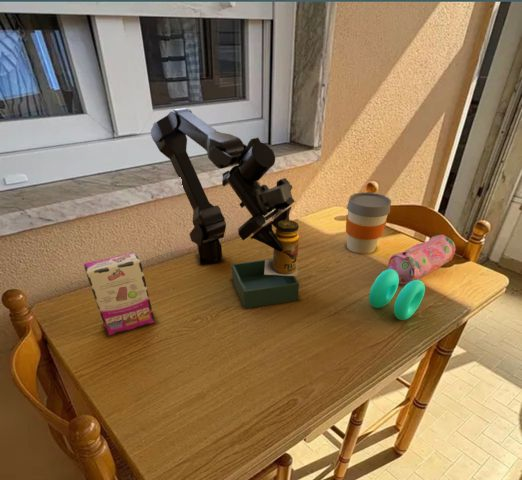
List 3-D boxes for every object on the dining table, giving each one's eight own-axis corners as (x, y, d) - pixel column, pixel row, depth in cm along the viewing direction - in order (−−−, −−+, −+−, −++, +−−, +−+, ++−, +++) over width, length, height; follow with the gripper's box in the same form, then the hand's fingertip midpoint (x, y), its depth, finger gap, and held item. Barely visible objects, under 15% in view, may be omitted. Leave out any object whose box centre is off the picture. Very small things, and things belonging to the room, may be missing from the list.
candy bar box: (150, 312, 94) (136, 251, 83) (155, 323, 90) (141, 260, 80) (103, 324, 90) (82, 262, 79) (107, 336, 87) (86, 273, 76)
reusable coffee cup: (385, 256, 117) (397, 207, 107) (344, 256, 117) (352, 207, 107) (376, 238, 126) (386, 192, 116) (338, 238, 126) (345, 191, 116)
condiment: (298, 276, 95) (302, 230, 87) (264, 275, 95) (265, 229, 87) (297, 261, 100) (301, 217, 92) (265, 260, 100) (266, 216, 92)
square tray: (244, 308, 95) (244, 291, 92) (232, 280, 106) (231, 263, 102) (297, 300, 98) (299, 283, 95) (280, 273, 109) (281, 257, 105)
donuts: (384, 295, 100) (393, 261, 94) (419, 311, 95) (432, 276, 88) (363, 311, 95) (371, 275, 88) (399, 328, 90) (410, 292, 83)
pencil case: (406, 291, 102) (416, 261, 96) (379, 277, 107) (387, 247, 101) (452, 268, 111) (463, 239, 105) (425, 256, 117) (434, 228, 111)
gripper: (249, 181, 77) (294, 244, 81) (290, 158, 90) (327, 214, 93) (219, 211, 85) (261, 267, 89) (260, 186, 98) (295, 237, 101)
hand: (287, 245), depth 93 cm, fingers closed on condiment, 6 cm apart
